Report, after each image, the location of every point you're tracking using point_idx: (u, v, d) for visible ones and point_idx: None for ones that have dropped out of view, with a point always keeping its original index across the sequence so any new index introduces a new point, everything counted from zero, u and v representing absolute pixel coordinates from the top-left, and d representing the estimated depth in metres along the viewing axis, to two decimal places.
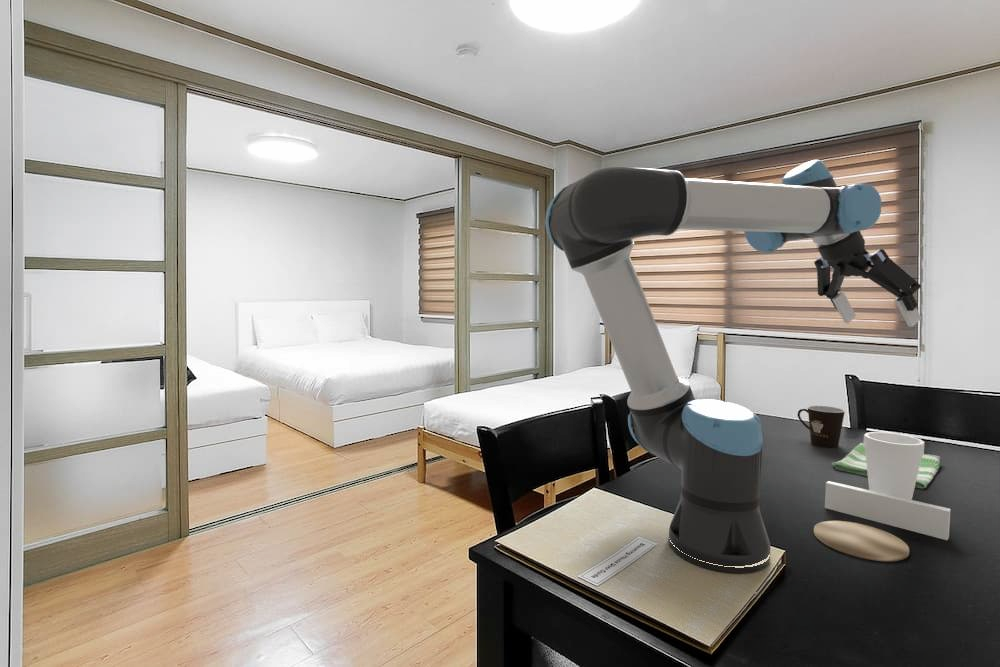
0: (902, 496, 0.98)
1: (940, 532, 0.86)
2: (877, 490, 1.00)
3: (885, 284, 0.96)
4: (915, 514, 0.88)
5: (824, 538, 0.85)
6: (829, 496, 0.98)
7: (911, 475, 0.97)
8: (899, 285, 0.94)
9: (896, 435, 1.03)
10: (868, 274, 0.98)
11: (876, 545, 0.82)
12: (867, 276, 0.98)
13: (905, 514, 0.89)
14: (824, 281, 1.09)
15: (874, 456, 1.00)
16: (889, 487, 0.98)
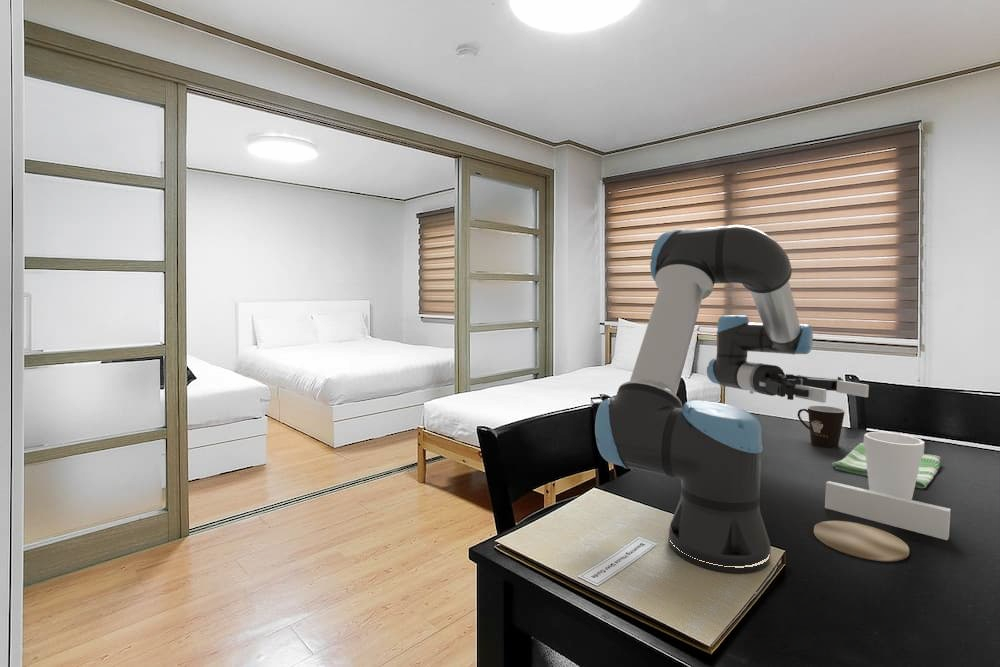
0: (902, 496, 0.98)
1: (940, 532, 0.86)
2: (877, 490, 1.00)
3: None
4: (915, 514, 0.88)
5: (824, 538, 0.85)
6: (829, 496, 0.98)
7: (911, 475, 0.97)
8: (830, 378, 1.20)
9: (896, 435, 1.03)
10: None
11: (876, 545, 0.82)
12: (805, 376, 1.21)
13: (905, 514, 0.89)
14: None
15: (874, 456, 1.00)
16: (889, 487, 0.98)
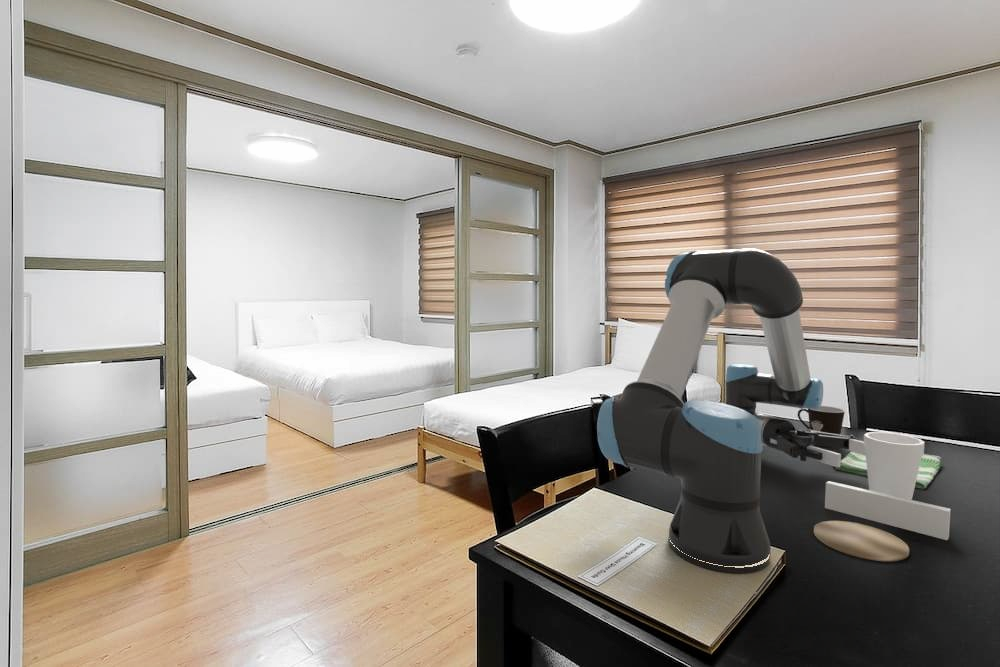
0: (902, 496, 0.98)
1: (940, 532, 0.86)
2: (877, 490, 1.00)
3: (833, 436, 1.18)
4: (915, 514, 0.88)
5: (824, 538, 0.85)
6: (829, 496, 0.98)
7: (911, 475, 0.97)
8: (841, 435, 1.19)
9: (896, 435, 1.03)
10: None
11: (876, 545, 0.82)
12: (817, 433, 1.19)
13: (905, 514, 0.89)
14: None
15: (874, 456, 1.00)
16: (889, 487, 0.98)
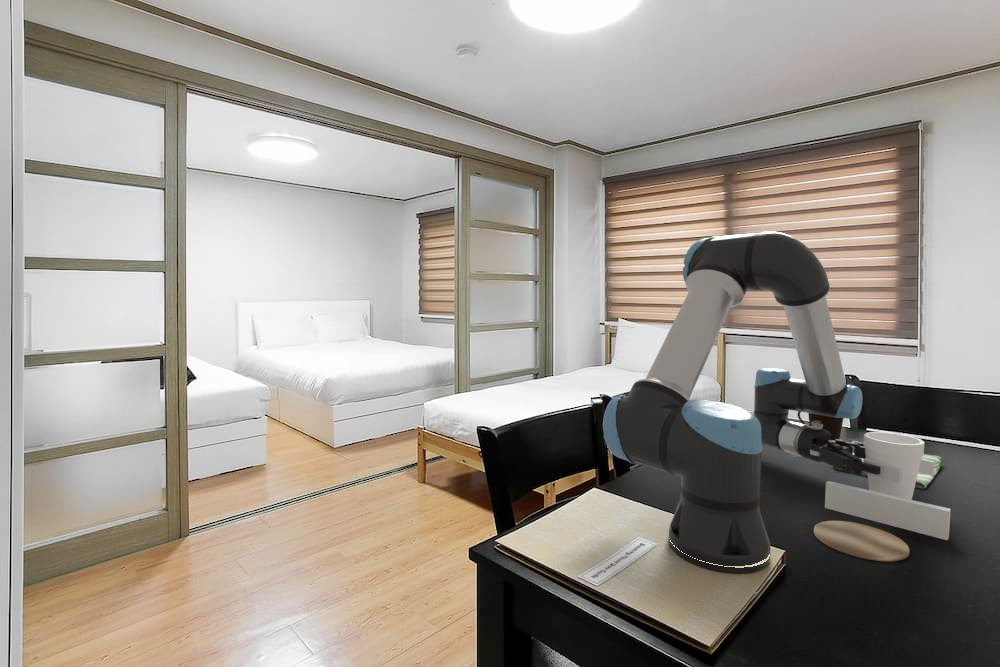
0: (902, 496, 0.98)
1: (940, 532, 0.86)
2: (877, 490, 1.00)
3: None
4: (915, 514, 0.88)
5: (824, 538, 0.85)
6: (829, 496, 0.98)
7: (911, 475, 0.97)
8: None
9: (896, 435, 1.03)
10: None
11: (876, 545, 0.82)
12: (858, 444, 1.10)
13: (905, 514, 0.89)
14: None
15: (874, 456, 1.00)
16: (889, 487, 0.98)
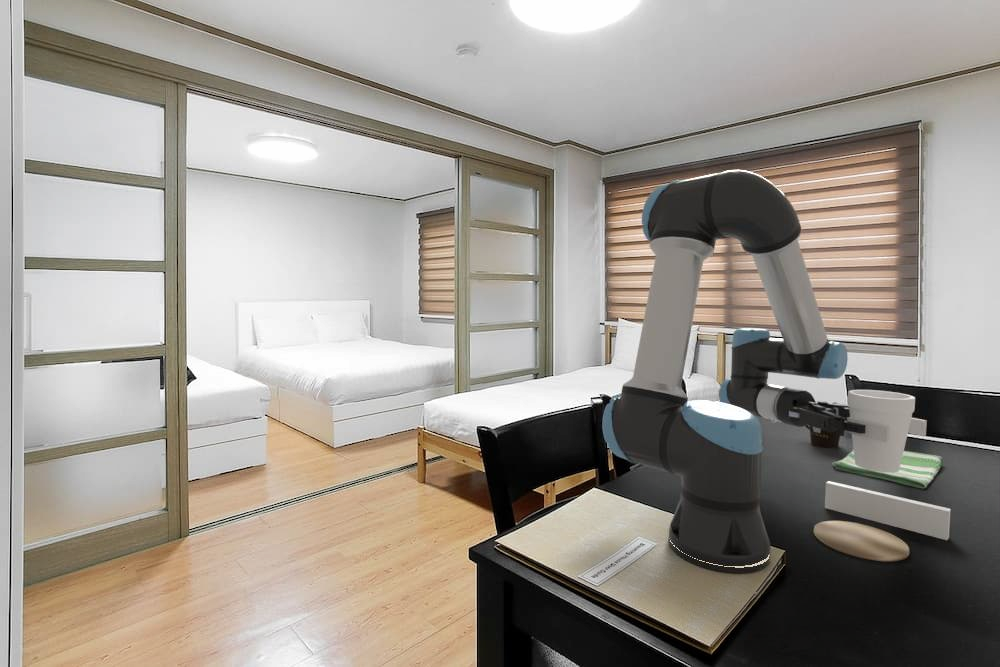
0: (890, 458, 0.87)
1: (940, 532, 0.86)
2: (862, 452, 0.89)
3: None
4: (915, 514, 0.88)
5: (824, 538, 0.85)
6: (829, 496, 0.98)
7: (900, 434, 0.86)
8: None
9: (884, 392, 0.92)
10: None
11: (876, 545, 0.82)
12: (842, 405, 0.99)
13: (905, 514, 0.89)
14: None
15: (859, 414, 0.89)
16: (876, 448, 0.87)
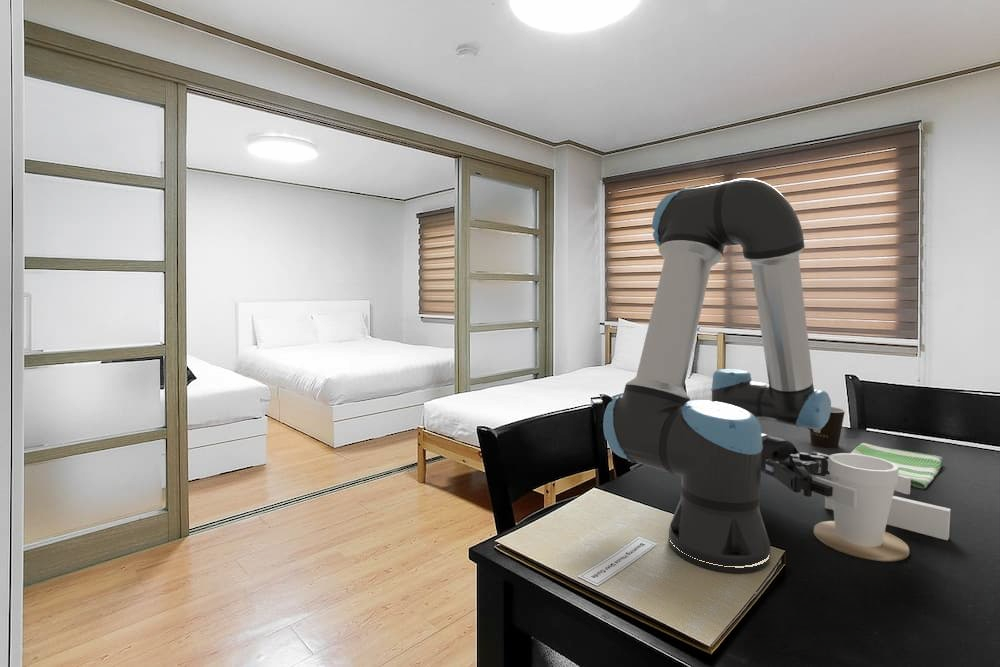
0: (872, 532, 0.81)
1: (940, 532, 0.86)
2: (843, 524, 0.84)
3: None
4: (915, 514, 0.88)
5: (824, 538, 0.85)
6: None
7: (882, 507, 0.81)
8: None
9: (867, 457, 0.87)
10: None
11: None
12: (825, 457, 0.94)
13: (905, 514, 0.89)
14: None
15: (839, 483, 0.83)
16: (857, 521, 0.82)
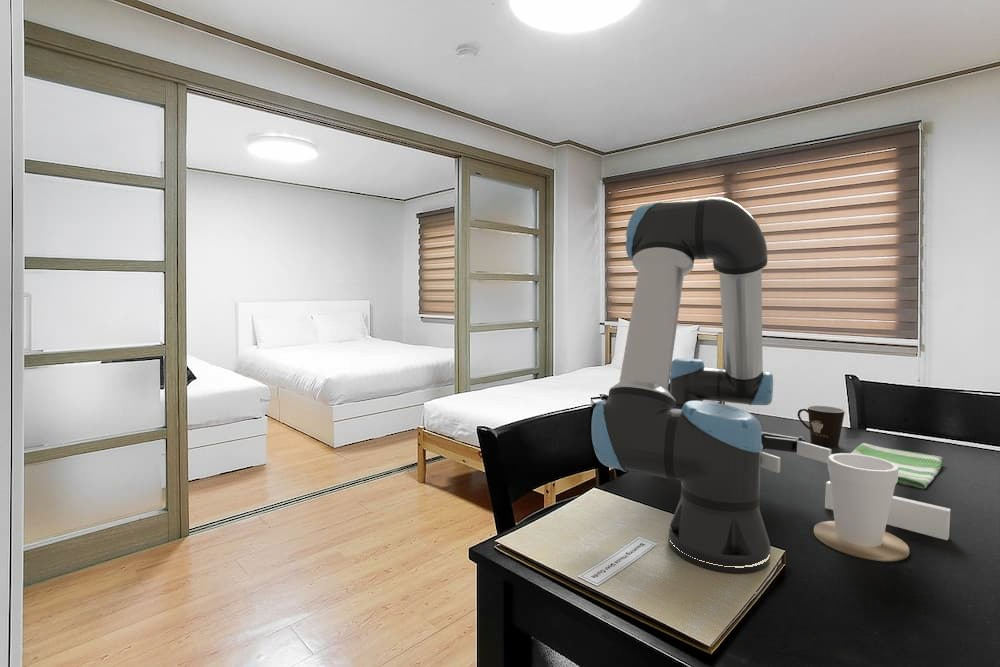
0: (872, 532, 0.81)
1: (940, 532, 0.86)
2: (843, 524, 0.84)
3: (780, 437, 1.05)
4: (915, 514, 0.88)
5: (824, 538, 0.85)
6: (829, 496, 0.98)
7: (882, 507, 0.81)
8: (790, 437, 1.06)
9: (867, 457, 0.87)
10: None
11: None
12: (763, 434, 1.06)
13: (905, 514, 0.89)
14: None
15: (839, 483, 0.83)
16: (857, 521, 0.82)
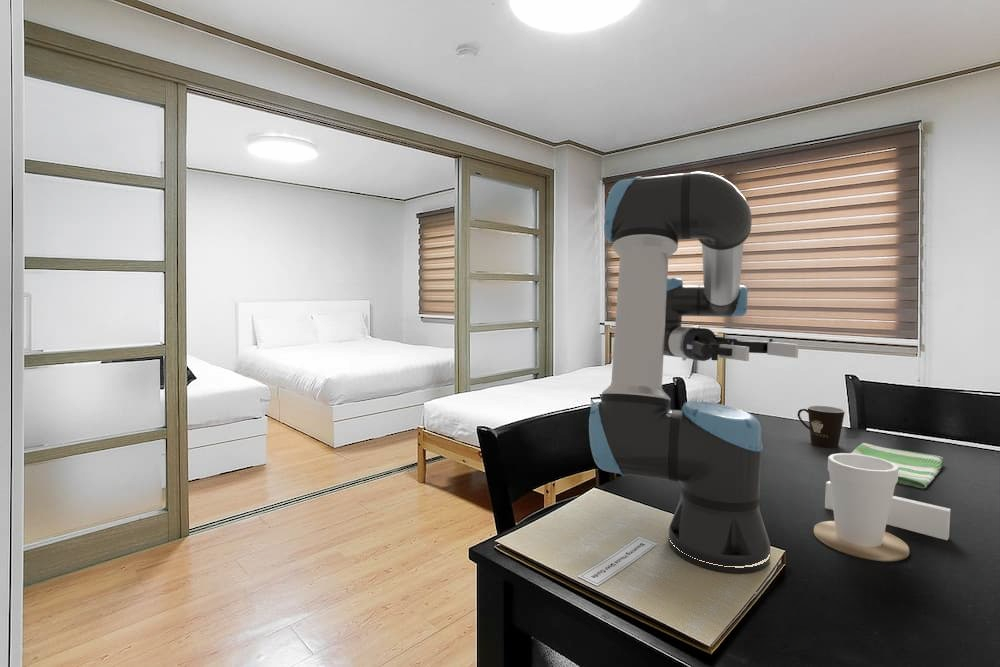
0: (872, 532, 0.81)
1: (940, 532, 0.86)
2: (843, 524, 0.84)
3: None
4: (915, 514, 0.88)
5: (824, 538, 0.85)
6: (829, 496, 0.98)
7: (882, 507, 0.81)
8: (762, 341, 1.12)
9: (867, 457, 0.87)
10: None
11: None
12: (736, 339, 1.13)
13: (905, 514, 0.89)
14: None
15: (839, 483, 0.83)
16: (857, 521, 0.82)
